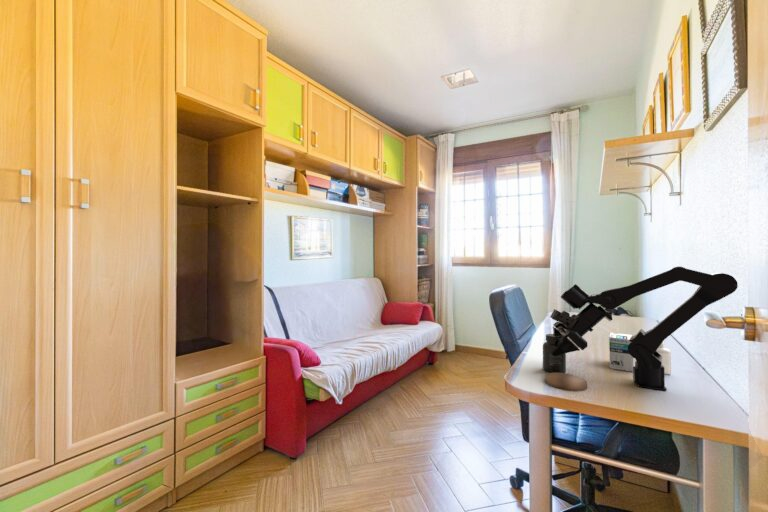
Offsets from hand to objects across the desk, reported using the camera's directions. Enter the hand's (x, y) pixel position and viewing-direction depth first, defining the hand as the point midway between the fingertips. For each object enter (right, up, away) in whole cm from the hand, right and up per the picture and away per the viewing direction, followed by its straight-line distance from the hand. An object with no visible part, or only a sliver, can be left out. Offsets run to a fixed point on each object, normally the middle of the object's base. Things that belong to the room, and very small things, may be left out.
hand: (549, 351), depth 109 cm
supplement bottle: (+1, -7, -1) cm, 7 cm away
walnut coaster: (-1, -6, -12) cm, 13 cm away
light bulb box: (+28, -7, +5) cm, 29 cm away
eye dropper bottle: (+36, -7, -1) cm, 36 cm away
